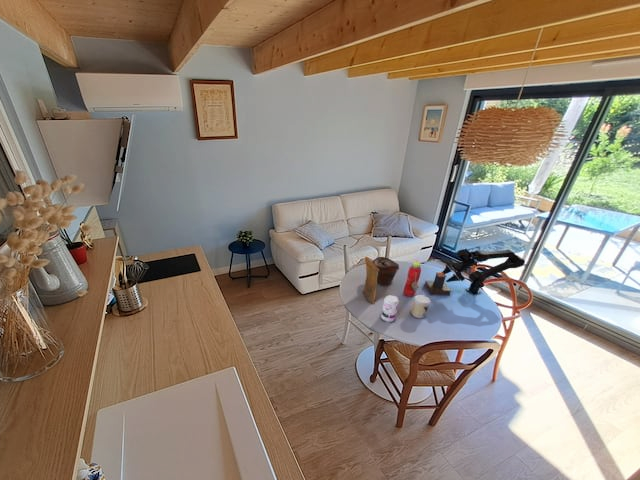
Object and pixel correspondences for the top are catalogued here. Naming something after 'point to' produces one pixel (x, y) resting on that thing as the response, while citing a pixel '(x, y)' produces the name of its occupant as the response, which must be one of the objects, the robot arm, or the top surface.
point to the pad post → (439, 280)
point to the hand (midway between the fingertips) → (443, 278)
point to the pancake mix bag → (370, 280)
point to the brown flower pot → (385, 270)
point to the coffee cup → (420, 306)
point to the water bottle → (412, 279)
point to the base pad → (437, 289)
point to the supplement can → (389, 308)
